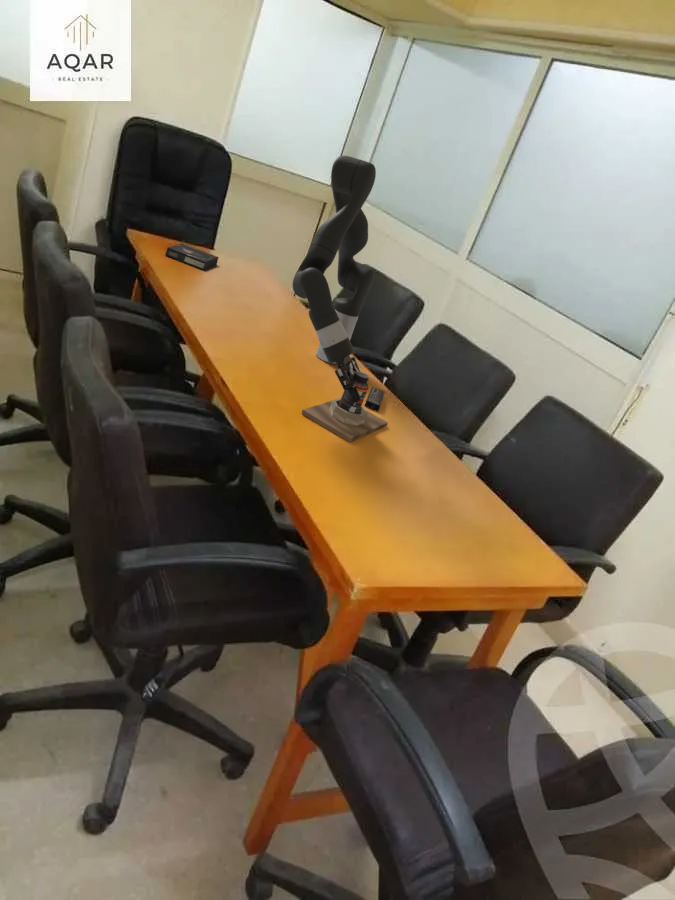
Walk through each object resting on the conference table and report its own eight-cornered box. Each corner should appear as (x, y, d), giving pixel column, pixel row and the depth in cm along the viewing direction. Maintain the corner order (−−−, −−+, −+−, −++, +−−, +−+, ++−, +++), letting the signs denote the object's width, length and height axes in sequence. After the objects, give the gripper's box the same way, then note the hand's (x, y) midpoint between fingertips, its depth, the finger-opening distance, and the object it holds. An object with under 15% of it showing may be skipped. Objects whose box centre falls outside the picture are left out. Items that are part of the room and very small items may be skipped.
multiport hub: (382, 397, 217) (385, 391, 216) (377, 412, 204) (380, 406, 203) (369, 392, 217) (372, 386, 216) (363, 407, 204) (366, 400, 203)
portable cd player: (164, 257, 277) (166, 247, 276) (180, 252, 293) (182, 243, 291) (202, 271, 277) (204, 262, 275) (216, 266, 293) (218, 257, 291)
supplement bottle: (355, 418, 185) (370, 381, 181) (335, 410, 186) (350, 373, 181) (359, 411, 191) (374, 375, 186) (340, 403, 191) (354, 367, 186)
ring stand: (341, 400, 202) (346, 388, 200) (386, 426, 196) (391, 413, 194) (301, 413, 183) (305, 399, 181) (349, 442, 177) (355, 428, 176)
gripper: (340, 341, 174) (367, 400, 178) (353, 330, 188) (377, 386, 191) (315, 352, 177) (341, 410, 181) (329, 341, 190) (353, 395, 194)
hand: (360, 397), depth 186 cm, fingers closed on supplement bottle, 6 cm apart
